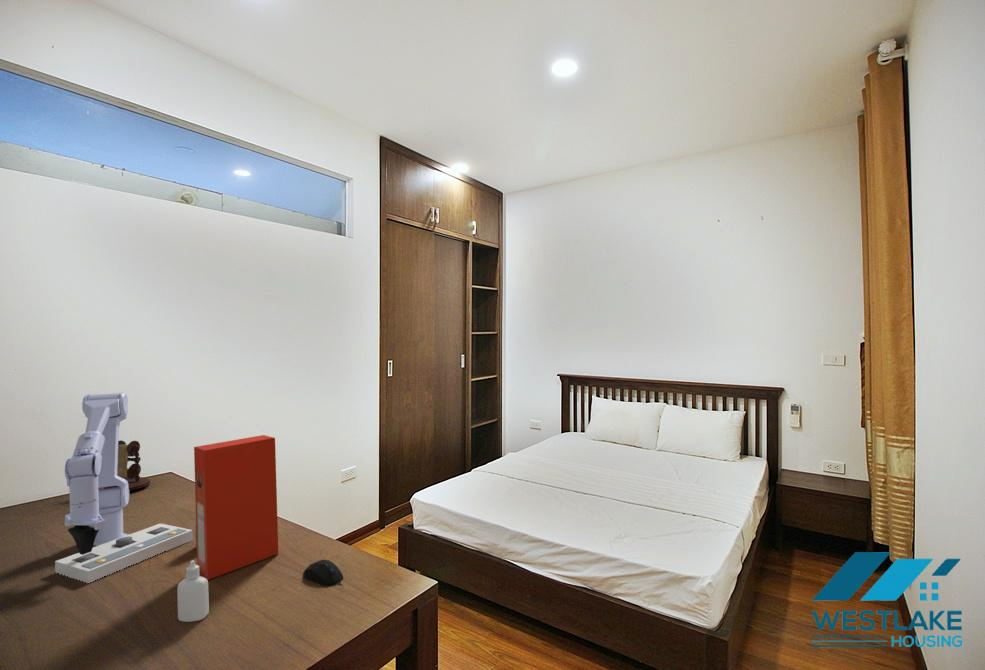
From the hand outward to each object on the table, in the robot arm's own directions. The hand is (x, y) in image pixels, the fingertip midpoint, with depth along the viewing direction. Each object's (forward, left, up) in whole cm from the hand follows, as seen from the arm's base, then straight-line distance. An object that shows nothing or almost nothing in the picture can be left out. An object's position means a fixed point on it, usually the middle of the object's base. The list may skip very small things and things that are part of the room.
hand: (85, 552), depth 122 cm
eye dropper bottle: (+49, -4, -5) cm, 49 cm away
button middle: (0, +9, -2) cm, 9 cm away
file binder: (+36, +17, -5) cm, 40 cm away
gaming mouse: (+64, +19, -5) cm, 67 cm away
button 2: (0, +18, -3) cm, 18 cm away
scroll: (-64, +45, -5) cm, 79 cm away
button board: (+2, +9, -4) cm, 10 cm away
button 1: (0, 0, -3) cm, 3 cm away
